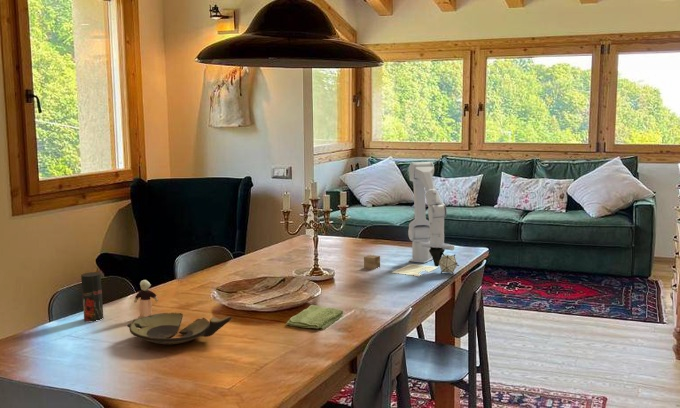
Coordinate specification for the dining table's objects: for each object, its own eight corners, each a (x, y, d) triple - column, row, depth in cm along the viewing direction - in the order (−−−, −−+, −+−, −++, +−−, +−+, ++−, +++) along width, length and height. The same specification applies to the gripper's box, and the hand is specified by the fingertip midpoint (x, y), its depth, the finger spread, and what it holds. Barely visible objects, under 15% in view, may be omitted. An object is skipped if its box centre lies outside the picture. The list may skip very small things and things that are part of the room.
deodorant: (107, 318, 218) (104, 273, 216) (92, 322, 213) (89, 277, 211) (95, 315, 222) (92, 271, 219) (80, 320, 216) (77, 275, 214)
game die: (450, 281, 273) (465, 262, 273) (447, 278, 265) (463, 258, 265) (433, 268, 276) (448, 249, 277) (430, 265, 269) (445, 245, 269)
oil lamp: (165, 323, 212) (164, 300, 211) (242, 337, 198) (241, 312, 197) (111, 345, 192) (109, 320, 191) (192, 362, 178) (190, 334, 177)
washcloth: (284, 327, 207) (284, 317, 207) (311, 312, 223) (311, 303, 222) (321, 333, 201) (321, 322, 201) (346, 316, 217) (346, 307, 216)
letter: (411, 264, 289) (411, 263, 289) (438, 267, 282) (438, 267, 282) (391, 272, 274) (391, 272, 274) (419, 276, 267) (419, 276, 267)
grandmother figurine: (134, 320, 215) (132, 282, 214) (134, 317, 219) (132, 279, 217) (159, 318, 217) (157, 280, 216) (159, 314, 221) (157, 277, 219)
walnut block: (370, 266, 287) (370, 254, 287) (380, 267, 285) (380, 255, 284) (364, 268, 283) (363, 256, 283) (374, 269, 281) (374, 258, 280)
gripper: (416, 233, 274) (416, 265, 275) (449, 236, 266) (449, 269, 268) (424, 230, 279) (424, 262, 281) (456, 233, 272) (456, 266, 273)
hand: (436, 265), depth 275 cm, fingers closed
